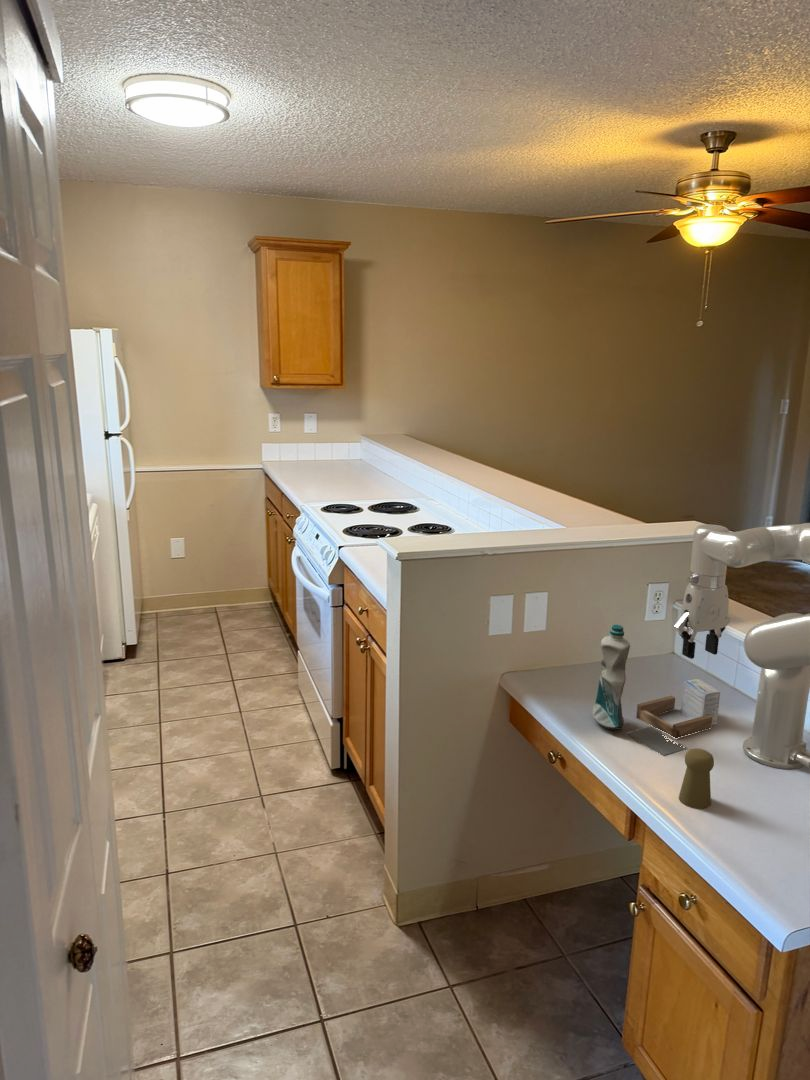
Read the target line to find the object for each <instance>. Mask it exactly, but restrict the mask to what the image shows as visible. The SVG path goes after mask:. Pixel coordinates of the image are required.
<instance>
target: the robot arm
mask: <svg viewBox="0 0 810 1080" xmlns="http://www.w3.org/2000/svg"><path fill="white" fill-rule="evenodd" d="M693 531H694V532H693V536H692V537H693V538H692V546H691V547H692V548H691V549H692V550H691V559H690V560H691V561H690V568H689V569H690V571H689V576H687V579H686V580H687V582H688V584H687V585H686V588H685V592H684V597H683V601H682V606H681V611H680V612H681V613H680V618H679V620H678V621H677V622H676V623H675V625H673V626H674V627H673V629H674V630H675V631H676V632H677V633H678V634H679V636H680V639H683V640H682V650H681V652H682V653H681V654H682V656H685V657H687V658H688V659H691V660H693V659H694V658H695V652H696V641H695V639H696V636H697V634H698V633H700V632H701V633H702V632H707V631H708V633H707V634H706V637H705V645H704V646H705V647H704V650H705V651H706V652H708V653H709V654H712V655H714V656H715V655H718V649H719V642H720V641H719V640H720V638H722V635H723V634H722V633H723V632H724V631H725V630H726V627H727V626H728V624H730V622H731V618H730V616H729V591H728V586H727V585H726V577H727V570H728V569H727V568H728V567H731V568H738V569H739V568H744V567H748V566H750V565H753V564H758V563H762V562H766V561H779V560H800V561H801V560H802V561H803V562H804V563H805V564H807V565H810V522H804V523H799V524H783V525H781V524H780V525H770V526H759V527H754V528H748V529H743V530H739V531H733V532H731V531H730V530H729V528H727V527H726V526H723V525H718V524H710V523H709V524H708V523H707V524H700V525H697V526H696V527H695V529H694V530H693ZM690 631H691V632H690ZM689 632H690V633H689ZM743 651H744V653H745V656H746V657H747V658H748V660H749V661H750V662H751V663H752V664H754V665H755V666H757V667H759V668H761V670H760V673H759V674H760V676H759V681H758V689H757V696H756V704H755V710H754V717H753V726H752V732H751V733H752V734H751V736H750V737H747V738H746V739H744V740H743V744H742V749H743V752H744V753H745V755H747V756H748V757H749V758H750V759H752V760H753V761H755V762H756V763H760V764H762V765H765V766H767V767H771V768H776V769H783V770H784V769H785V770H793V769H800V768H802V767H807V768H808V769H810V752H809V751H807V742H806V741H804V740H803V736H804V730H805V722H806V714H807V709H808V708H807V707H808V702H809V694H810V613H806V614H802V613H799V612H798V613H797V612H788V613H783V614H780V615H778V616H775V617H773V618H771V619H768V620H766V621H763V622H760V623H757V624H755V625H754V626H752V628H750V629H749V630H748V631H747V633H746V635H745V637H744V640H743Z"/></svg>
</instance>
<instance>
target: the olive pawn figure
mask: <svg viewBox="0 0 810 1080" xmlns="http://www.w3.org/2000/svg"><path fill="white" fill-rule="evenodd" d="M684 763H685V766H686V769H685V772H684V776H683V780H682V783H681V787H680V791H679V795H678V801H679V802H680V803H681V804H683V805H684V806H686V807H688V808H690V809H695V810H705V809H707V808H710V807H711V805H712V797H711V794H712V793H711V771H712V770H713V768H714V764H715V759H714V757H713V754H712V753H710V751H708V750H705V749H703V748H691V749H689V750H688V751H687V752H686V753H685V755H684Z"/></svg>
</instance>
